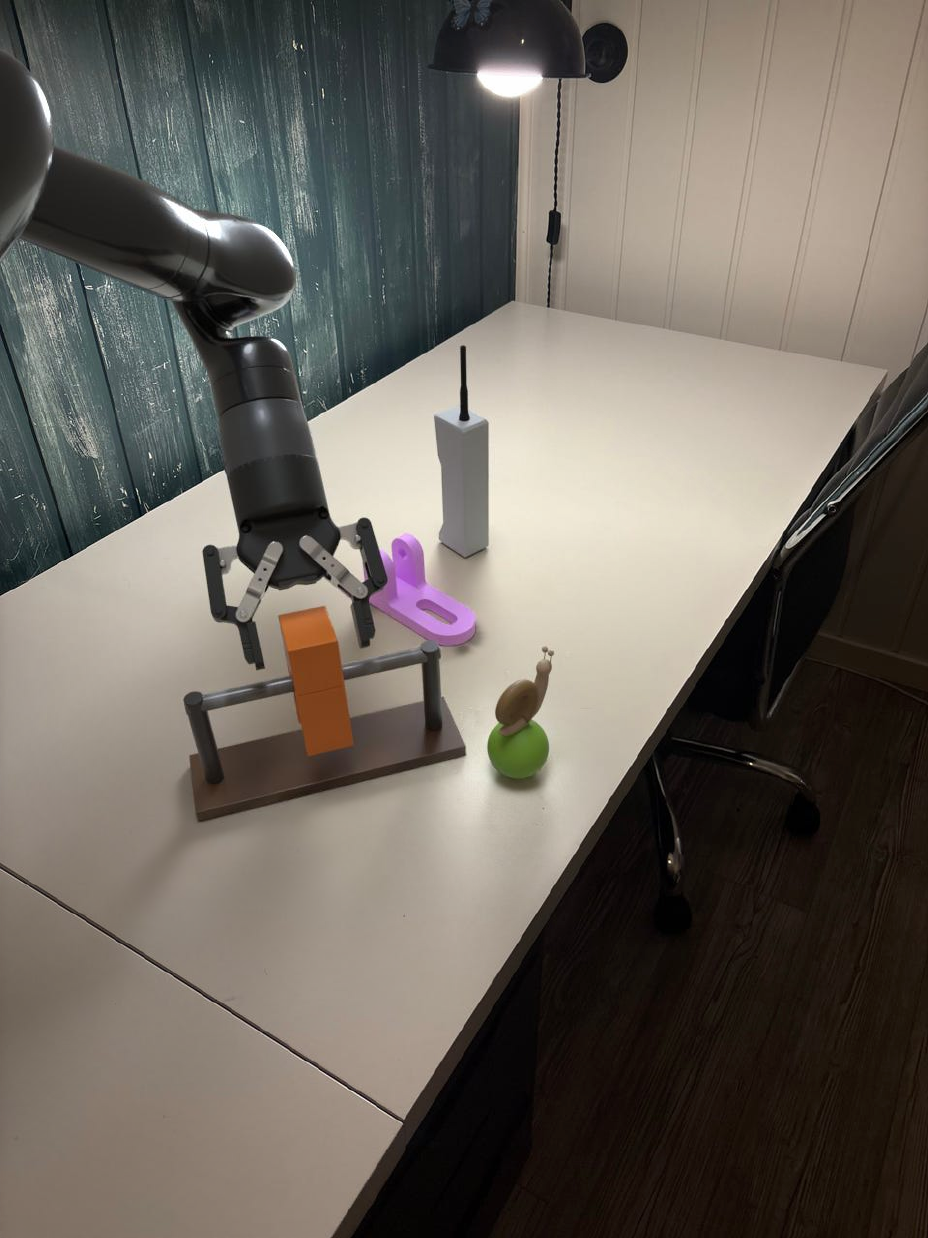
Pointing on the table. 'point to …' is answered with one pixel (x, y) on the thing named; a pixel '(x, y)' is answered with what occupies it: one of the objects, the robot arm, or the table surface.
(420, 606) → the bracket
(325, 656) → the orange lidded gift box
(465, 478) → the vintage mobile phone
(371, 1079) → the table surface
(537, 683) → the snail figurine
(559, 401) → the table surface
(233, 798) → the rail stand
